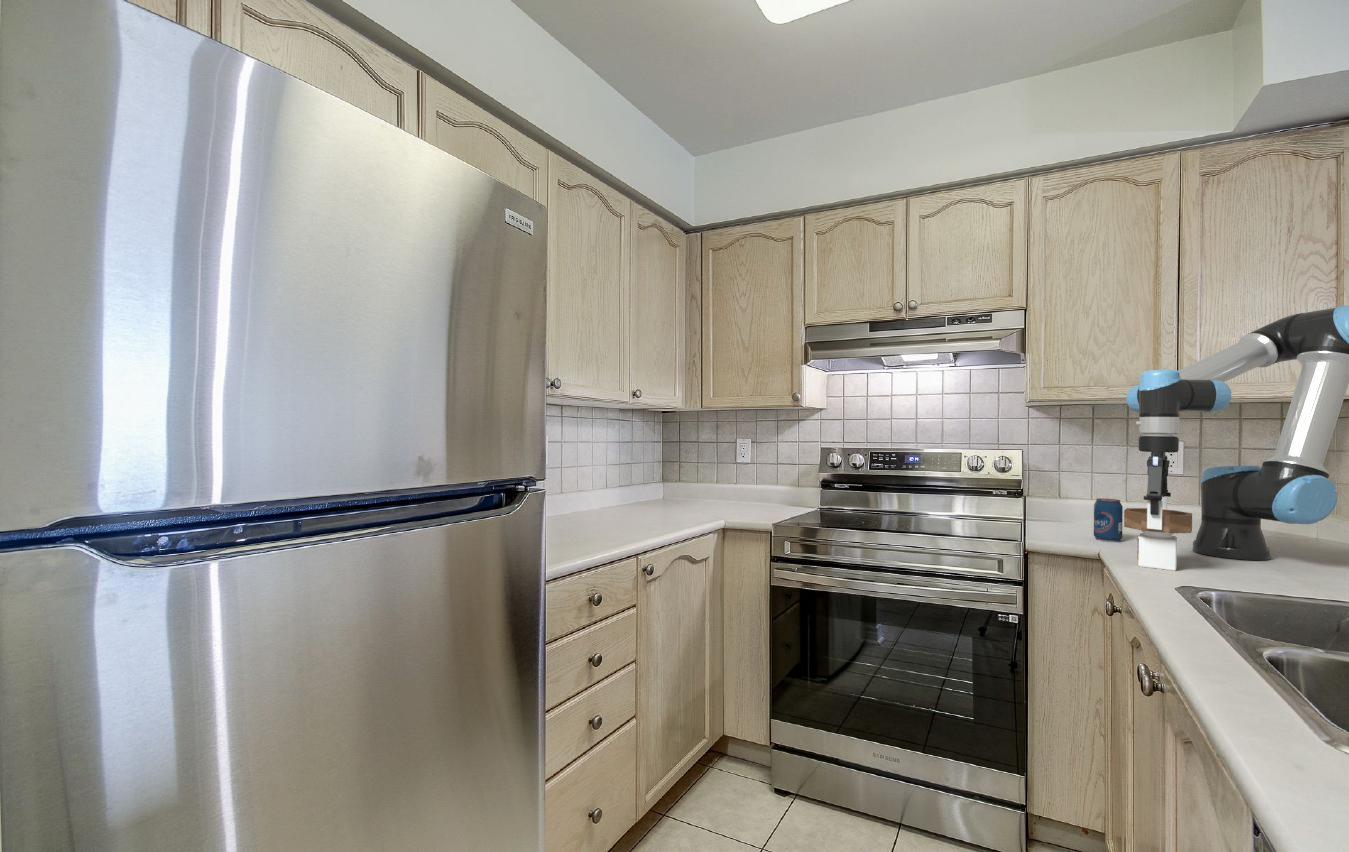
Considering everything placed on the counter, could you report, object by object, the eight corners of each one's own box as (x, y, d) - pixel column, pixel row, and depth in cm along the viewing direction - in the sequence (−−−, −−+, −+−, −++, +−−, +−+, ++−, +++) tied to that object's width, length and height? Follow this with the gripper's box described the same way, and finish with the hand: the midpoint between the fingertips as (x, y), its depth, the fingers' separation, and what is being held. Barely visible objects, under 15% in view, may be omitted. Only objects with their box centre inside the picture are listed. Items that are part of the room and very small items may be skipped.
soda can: (1088, 539, 185) (1089, 498, 185) (1101, 537, 188) (1101, 497, 189) (1114, 543, 179) (1114, 501, 179) (1127, 541, 182) (1127, 500, 182)
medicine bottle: (1139, 562, 153) (1139, 512, 153) (1176, 566, 149) (1177, 515, 149) (1137, 566, 148) (1137, 515, 148) (1176, 571, 143) (1176, 518, 143)
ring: (1160, 524, 155) (1160, 508, 155) (1206, 533, 142) (1206, 515, 142) (1112, 524, 154) (1112, 508, 154) (1154, 533, 141) (1154, 515, 141)
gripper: (1144, 435, 160) (1143, 519, 160) (1132, 434, 142) (1131, 529, 141) (1182, 435, 155) (1180, 522, 155) (1175, 435, 137) (1173, 533, 136)
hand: (1157, 526), depth 148 cm, fingers closed on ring, 12 cm apart
